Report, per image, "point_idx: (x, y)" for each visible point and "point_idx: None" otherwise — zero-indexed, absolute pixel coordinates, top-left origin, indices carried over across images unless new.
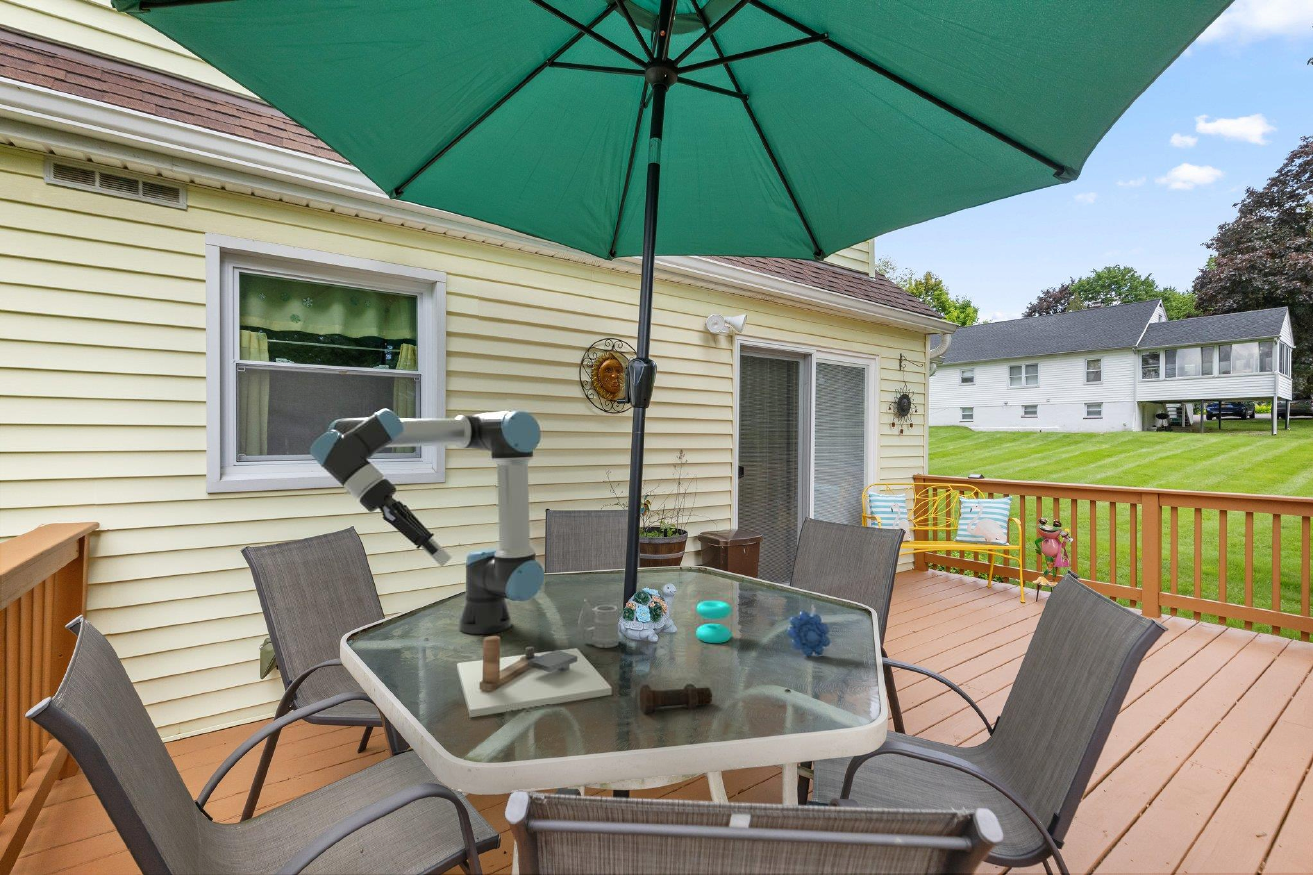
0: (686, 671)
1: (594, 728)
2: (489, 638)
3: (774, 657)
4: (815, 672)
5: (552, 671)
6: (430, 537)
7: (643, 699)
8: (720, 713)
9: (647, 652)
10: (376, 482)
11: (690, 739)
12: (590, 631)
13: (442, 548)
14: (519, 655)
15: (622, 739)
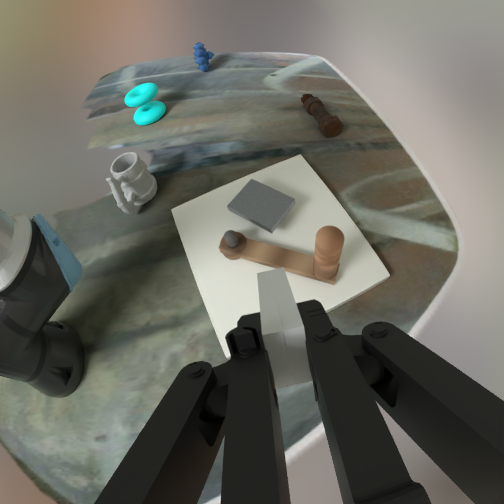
0: (235, 118)
1: (376, 164)
2: (329, 241)
3: (205, 82)
4: (238, 67)
5: None
6: (257, 344)
7: (335, 127)
8: (322, 99)
9: (178, 151)
10: None
11: (370, 113)
12: (133, 198)
13: (266, 293)
14: (193, 273)
15: (386, 146)
